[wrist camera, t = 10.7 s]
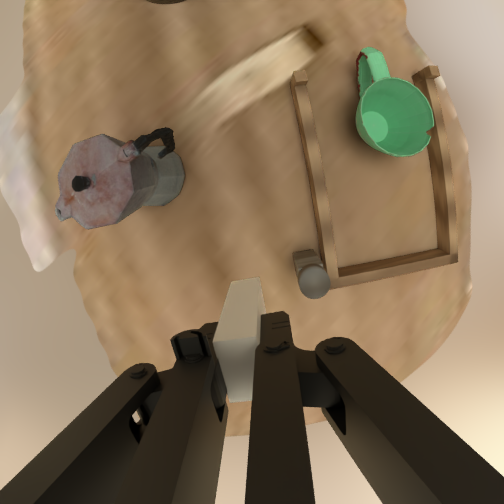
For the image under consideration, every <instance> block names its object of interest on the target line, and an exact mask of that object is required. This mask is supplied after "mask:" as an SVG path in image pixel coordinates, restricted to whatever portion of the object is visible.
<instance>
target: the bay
mask: <svg viewBox="0 0 504 504" xmlns="http://www.w3.org/2000/svg"><path fill="white" fill-rule="evenodd" d="M439 76H440V73H439V69H438V66H427V67H426V68H424V69H423V70H421V71H419V72H418V73H416V74H415V75H413V76H412V78H413V82H414V86H415V87H417V88H418V89H419V90H420V91H421V92H422V93H423V95H424V96H425V97H426V98H427V100H428V102H429V104H430V107H431V109H432V112H433V118H434V127H433V128H432V129H431V130H430V131H428V132H427V134H428V135H430V136H431V139H430V141H429V144H428V145H427V147H428V153H429V160H430V167H431V174H432V182H433V190H434V200H435V210H436V223H437V240H438V249H433V250H429V251H424V252H419V253H414V254H409V255H404V256H399V257H394V258H389V259H384V260H379V261H374V262H369V263H364V264H358V265H353V266H348V267H343V268H338V267H337V258H336V250H335V243H334V235H333V228H332V221H331V214H330V208H329V201H328V195H327V189H326V183H325V177H324V171H323V165H322V160H321V154H320V149H319V144H318V139H317V134H316V129H315V124H314V119H313V114H312V110H311V105H310V100H309V96H308V91H307V87H306V84H307V81H308V79H307V75H306V70H300V71H294V72H293V75H292V79H291V82H290V87H291V91H292V96H293V100H294V105H295V109H296V114H297V119H298V124H299V129H300V134H301V139H302V144H303V149H304V154H305V160H306V165H307V171H308V176H309V182H310V188H311V194H312V200H313V206H314V212H315V218H316V225H317V231H318V238H319V245H320V252H321V259H322V262H321V260H320V259H319V257H318V256H317V254H316V253H315V251H314V250H313V249H312V250H306V251H301V252H295V253H293V257H294V264H295V270H296V275H297V278H298V283H299V287H300V290H301V292H302V293H303V294H304V295H305V296H306V297H308V298H311V299H318V298H321V297H323V296H324V295H325V294H326V293H327V292H328V291H329V290H331V289H336V288H341V287H346V286H351V285H356V284H361V283H366V282H371V281H376V280H381V279H386V278H390V277H395V276H400V275H404V274H409V273H413V272H418V271H422V270H427V269H431V268H435V267H440V266H444V265H448V264H452V263H457V262H458V240H457V219H456V205H455V194H454V184H453V175H452V168H451V160H450V154H449V147H448V141H447V136H446V130H445V125H444V120H443V115H442V110H441V106H440V102H439V97H438V93H437V89H436V85H435V81H434V79H435V78H437V77H439Z"/></svg>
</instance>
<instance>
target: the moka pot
mask: <svg viewBox="0 0 504 504" xmlns="http://www.w3.org/2000/svg"><path fill="white" fill-rule="evenodd" d="M173 132H174V131H173V130H172V129H170V128H167V127H165V128H161V129H156V130H155V131H153V132H152V133H151V134H148V135H141V136H140V137H139V138H138V139H137V140H136V141H133V140H130V141H128V142H127V143H125V142H122V141H120V140H117V139H115V138H113V137H110V136H107V135H105V134H100V135H97V136H94V137H92V138H89V139H86V140H83V141H80V142H78V143H75V144H74V145H73V146H72V147H71V149H70V151H69V153H68V155H67V157H66V159H65V161H64V163H63V165H62V167H61V169H60V171H59V173H58V182H59V189H60V197H59V199H58V201H57V203H56V209H55V213H56V215H57V217H58V219H59V220H60V221H64V220H66V219H68V218H71V217H72V218H74V219H75V220H76V221H77V222H78V223H79V224H80V225H81V226H83V227H84V228H85V229H92V228H97V227H102V226H107V225H112V224H117V223H118V222H120V221H121V220H123V219H124V218H126V217H127V216H129V215H130V214H132V213H133V212H135V211H136V210H138V209H139V208H141V207H142V206H164V205H166V204H168V203H169V202H170V201H172V200H173V199H174V198H176V197H177V196H178V195H179V193H180V191H181V188H182V186H183V182H184V177H185V173H184V169H183V165H182V162H181V158H180V157H179V156H178V155H177V154H176V153H175V152H173V150H174V149H175V143H174V139H173V137H174V136H173ZM159 138H161V139H162V141H163V144H164V145H165V146H166V147H165V146H153V147H147V146H148V145H149V144H150V143H151V142H152V141H154V140H156V139H159Z"/></svg>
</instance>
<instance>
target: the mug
mask: <svg viewBox="0 0 504 504" xmlns="http://www.w3.org/2000/svg"><path fill="white" fill-rule="evenodd" d="M356 67H357V85H358V89H359V94H360V101H359V104H358V107H357V111H356V118H355V120H356V127H357V131H358V133H359V135H360V137H361V138H362V139H363V140H364V141H365V142H366V143H367V144H368V145H369V146H371V147H372V148H374V149H375V150H378V151H381V152H383V153H385V154H388V155H392V156H395V157H407V156H413V155H415V154H417V153H419V152H421V151H422V150H423V149H424V148H425V147H426V146H427V145H428V144H429V141H430V139H431V136H430V135H428V134H427V132H428V131H430V130H431V129H432V128H433V127H434V118H433V112H432V109H431V107H430V104H429V102H428V100H427V98H426V97H425V96H424V95H423V93H422V92H421V91H420V90H419V89H418V88H417V87H415V86H414V85H413V84H411V83H410V82H408V81H406V80H403V79H400V78H393V77H390V74H389V71H388V67H387V64H386V61H385V59H384V56H383V54H382V53H381V52H380V51H378V50H376V49H374V48H372V47H366V48H364V49H362V51H361V52H360V54H359V56H358V58H357V60H356ZM372 77H373V80H374V83H373V82H372Z"/></svg>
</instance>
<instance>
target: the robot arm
mask: <svg viewBox="0 0 504 504" xmlns="http://www.w3.org/2000/svg"><path fill="white" fill-rule="evenodd" d="M147 1H150V2H154V3H161V4H168V3H176V2H181V1H184V0H147ZM170 341H171V344H172V347H173V350H174V353H175V356H176V359H177V360H176V362H175V364H174V367H173V368H172V369H169V370H165V371H162V372H158V373H157V370H156V367H155V366H154V365H153V364H149V363H139V364H135V365H134V366H132V367H130V368H128V369H127V370H125V371H124V372H123V373H122V374H121V375H120V376H119V377H118V378H117V379H116V380H115V381H114V382H113V383H112V384H111V385H110V386H109V387H108V388H106V389H105V391H104V392H102V393H101V394H100V395H99V396H98V397H97V398H96V399H95V400H94V401H93V402H92V403H91V404H90V405H89V406H88V407H87V408H86V409H85V410H84V411H82V412H81V413H80V414H79V416H77V417H76V418H75V419H74V420H73V421H72V422H71V423H70V424H69V425H68V426H67V427H66V428H65V429H64V430H63V431H62V432H61V433H60V434H59V435H57V436H56V437H55V438H54V439H53V440H52V441H51V442H50V443H49V444H48V445H47V446H46V447H45V448H44V449H43V450H42V451H41V452H40V453H39V454H38V455H37V456H36V457H35V458H34V459H33V460H32V461H30V463H28V464H27V465H26V466H25V467H24V468H23V469H22V470H21V471H20V472H19V473H18V474H17V475H16V476H15V477H14V478H13V479H12V480H11V481H10V482H9V483H8V484H7V485H6V486H4V487H3V488H2V490H0V504H215V498H216V491H217V484H218V477H219V471H220V464H221V458H222V451H223V444H224V437H225V431H226V424H227V417H228V407H227V403H226V394H227V395H228V398H229V402H230V403H233V402H243V401H252V407H251V421H250V436H249V450H248V465H247V479H246V493H245V504H315V496H314V488H313V480H312V472H311V464H310V456H309V449H308V442H307V434H306V426H305V419H304V412H303V407H321V409H322V413H323V414H324V416H325V417H326V419H327V420H328V422H329V424H330V425H331V427H332V428H333V430H334V431H335V433H336V434H337V436H338V437H339V439H340V440H341V442H342V443H343V445H344V446H345V448H346V449H347V451H348V452H349V454H350V455H351V457H352V459H353V460H354V462H355V463H356V465H357V466H358V468H359V469H360V471H361V472H362V473H363V475H364V476H365V478H366V479H367V481H368V482H369V484H370V485H371V487H372V488H373V490H374V491H375V493H376V494H377V496H378V497H379V498H380V500H381V502H382V503H383V504H504V477H503V476H502V475H501V474H500V473H499V472H498V471H497V470H496V469H494V468H493V467H492V466H491V465H490V464H489V463H488V462H487V461H486V460H485V459H483V458H482V457H481V456H480V455H479V454H478V453H477V452H476V451H474V450H473V449H472V448H471V447H470V446H469V445H468V444H467V443H466V442H465V441H463V440H462V439H461V438H460V437H459V436H458V435H457V434H456V433H455V432H453V431H452V430H451V429H450V428H449V427H448V426H447V425H446V424H445V423H443V422H442V421H441V420H440V419H439V418H438V417H437V416H436V415H435V414H434V413H432V412H431V411H430V410H429V409H428V408H427V407H426V406H425V405H423V404H422V403H421V402H420V401H419V400H418V399H417V398H416V397H415V396H414V395H412V394H411V393H410V392H409V391H408V390H407V389H406V388H405V387H404V386H403V385H401V384H400V383H399V382H398V381H397V380H396V379H395V378H394V377H393V376H391V375H390V374H389V373H388V372H387V371H386V370H385V369H384V368H383V367H381V366H380V365H379V364H378V363H377V362H376V361H375V360H374V359H373V358H371V357H370V356H369V355H368V354H367V353H366V352H365V351H364V350H363V349H361V348H360V347H359V346H358V345H357V344H356V343H355V342H354V341H352V340H350V339H349V338H344V337H332V338H329V339H326V340H324V341H321V342H320V343H319V344H318V345H317V346H316V348H315V351H308V350H302V349H299V348H297V347H296V346H295V345H294V343H293V339H292V332H291V326H290V320H289V315H288V314H287V313H285V312H284V311H280V312H274V313H268V314H266V309H265V304H264V299H263V293H262V288H261V283H260V278H259V277H255V278H249V279H243V280H237V281H231V284H230V287H229V290H228V293H227V296H226V300H225V303H224V306H223V309H222V313H221V316H220V319H219V322H213V323H206V324H204V325H203V326H202V327H201V328H200V329H192V330H187V331H183V332H181V333H178V334H177V335H175V336H173V337H172V338H171V340H170ZM135 411H137V413H138V415H139V417H140V420H139V422H137V423H136V422H135V421H134V419H133V417H132V415H133V414H134V412H135Z"/></svg>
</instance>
